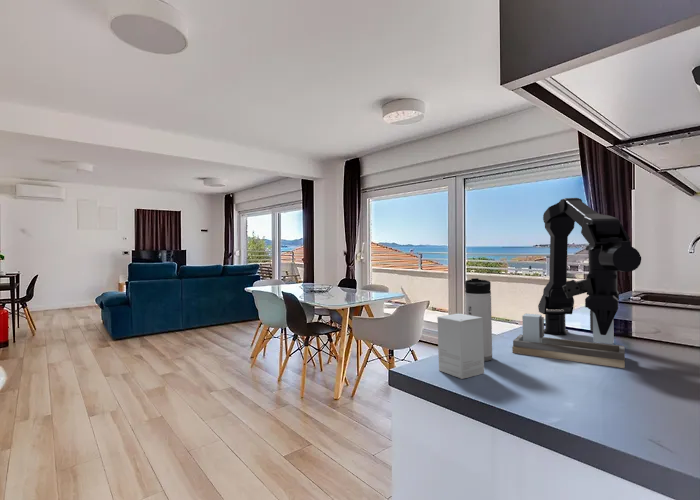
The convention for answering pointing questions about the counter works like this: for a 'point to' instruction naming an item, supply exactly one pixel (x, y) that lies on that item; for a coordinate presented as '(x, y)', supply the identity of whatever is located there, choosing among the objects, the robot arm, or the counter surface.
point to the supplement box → (461, 345)
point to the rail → (572, 351)
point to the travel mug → (480, 309)
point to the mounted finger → (533, 328)
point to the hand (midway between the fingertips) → (603, 333)
